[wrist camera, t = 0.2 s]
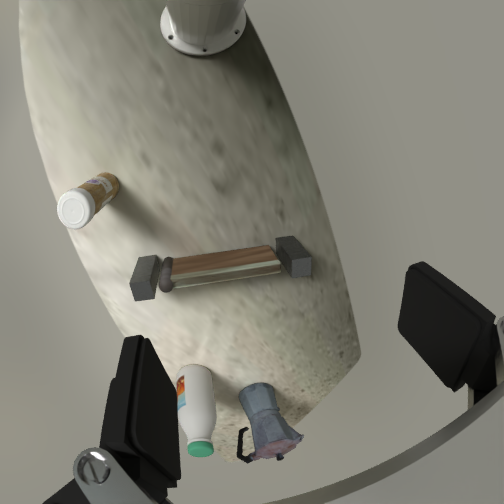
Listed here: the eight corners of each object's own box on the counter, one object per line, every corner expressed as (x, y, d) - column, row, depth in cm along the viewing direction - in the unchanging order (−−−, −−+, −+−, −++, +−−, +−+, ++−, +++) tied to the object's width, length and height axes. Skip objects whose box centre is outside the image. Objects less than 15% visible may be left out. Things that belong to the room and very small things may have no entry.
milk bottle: (192, 358, 55) (199, 440, 37) (218, 373, 59) (231, 451, 41) (169, 375, 56) (170, 453, 38) (195, 389, 60) (202, 463, 42)
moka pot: (289, 389, 66) (314, 453, 48) (237, 412, 66) (252, 476, 49) (275, 371, 62) (300, 442, 44) (218, 397, 62) (230, 467, 44)
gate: (162, 258, 45) (157, 281, 38) (268, 242, 47) (281, 263, 40) (165, 273, 46) (161, 297, 39) (269, 258, 48) (281, 280, 42)
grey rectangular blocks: (138, 257, 44) (129, 283, 37) (292, 235, 48) (311, 256, 40) (143, 273, 45) (134, 301, 38) (293, 251, 49) (310, 275, 42)
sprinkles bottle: (117, 169, 38) (86, 187, 26) (121, 198, 40) (94, 227, 28) (90, 175, 37) (52, 195, 25) (95, 203, 39) (61, 233, 27)
